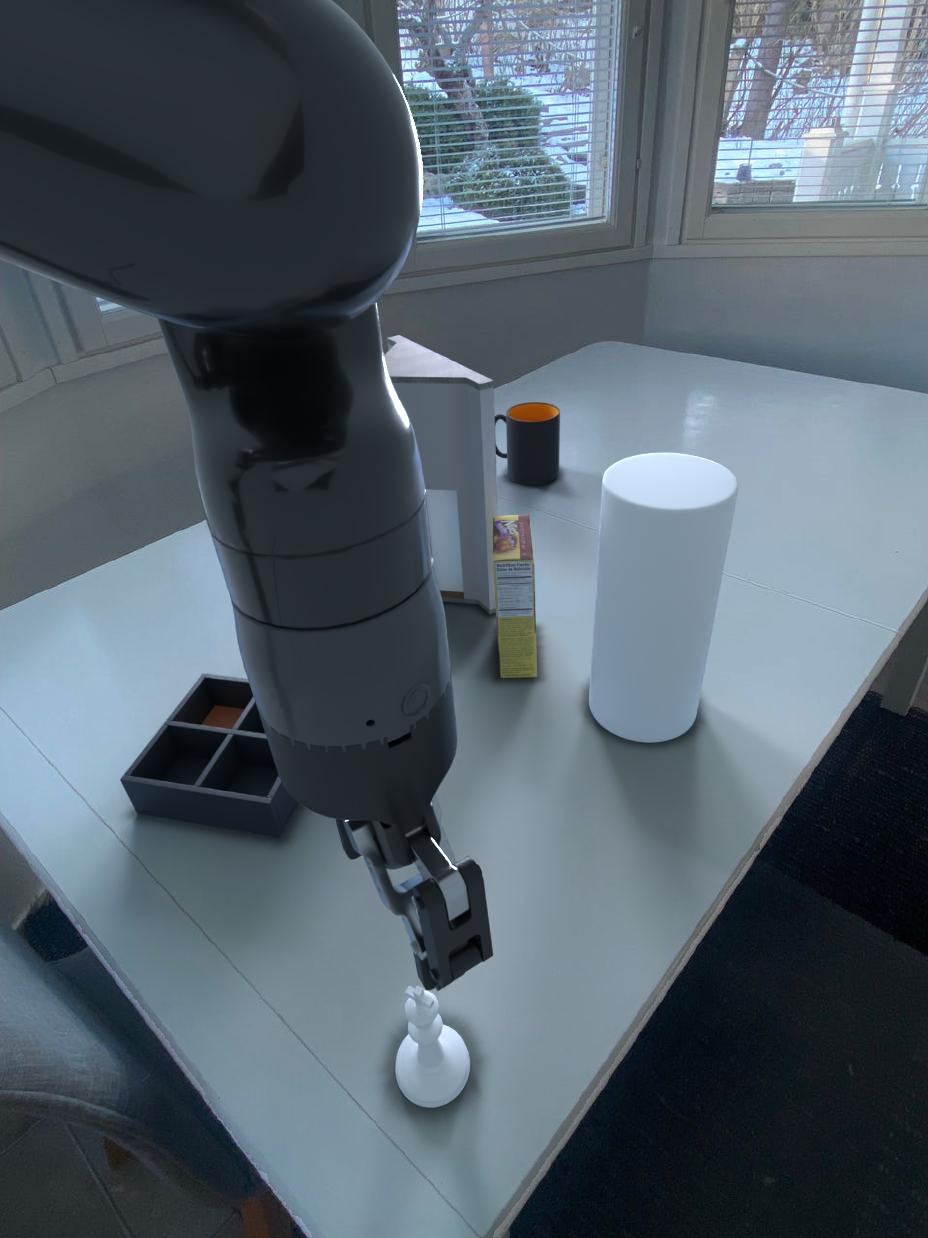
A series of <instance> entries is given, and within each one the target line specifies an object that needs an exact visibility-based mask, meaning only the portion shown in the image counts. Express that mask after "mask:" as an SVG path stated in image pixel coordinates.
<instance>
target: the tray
mask: <svg viewBox="0 0 928 1238" xmlns="http://www.w3.org/2000/svg"><path fill="white" fill-rule="evenodd" d="M119 782H120V783H121V785H122V787H123V789H124V791H125V793H126V794H127V796H128V799H129V801H130V802H131V805H132V807H133V808H134V811H135V813H136V814H139V815H145V816H151V817H155V818H156V817H157V818H163V819H168V820H173V821H179V822H184V823H185V822H186V823H191V824H197V825H203V826H208V827H214V828H220V829H227V830H231V831H238V832H242V833H243V832H244V833H249V834H250V833H251V834H255V835H260V836H261V835H262V836H266V837H272V838H273V837H274V838H278V839H281V838H282V837H283V836H284V833H285V830H286V829H287V828H288V825H289V823H290V821H291V819H292V817H293V815H294V813H295V811H296V810H297V807H298V806H299V805H300V804H299V803H298V802H297V801H296V800H295V799H294V798H293V797H292V796H291V795H290V794H289V793H288V792H287V790H286V789H285V787H284V786H283V784H282V782H281V780H280V777H279V774H278V771H277V768H276V765H275V762H274V759H273V756H272V752H271V749H270V746H269V743H268V740H267V737H266V734H265V731H264V727H263V724H262V721H261V718H260V715H259V712H258V709H257V706H256V702H255V699H254V696H253V693H252V690H251V687H250V684H249V681H248V678H244V677H236V676H229V675H221V674H212V673H204V672H203V673H202V674H201V675H200V677H198V679H197V680H196V681H195V683H194V684H193V685H192V687H191V688H190V689H189V690H188V692H187V693H186V694H185V695H184V696H183V698H182V699H181V701H180V702H179V703H178V704H177V705H176V707H175V708H174V710H173V711H172V712H171V713H170V715H169V716H168V717H167V718H166V720H165V721H164V723H163V724H162V725H161V727H160V728H159V729H158V730H157V731H156V733H155V734H154V736H152V738H151V739H150V740H149V742H148V743H147V744H146V745H145V747H144V748H143V750H141V752H140V753H139V755H138V756H137V757H136V758H135V760H134V761H133V762H132V764H131V765H130V766H129V767H128V768H127V769H126V771H125V773H124V774H123V775H122V776H121V778H120V779H119Z"/></svg>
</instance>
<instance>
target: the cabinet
mask: <svg viewBox="0 0 928 1238" xmlns="http://www.w3.org/2000/svg"><path fill="white" fill-rule="evenodd" d="M386 340H387V341H386V342H387V352H386V353H384V357H385V361H386V366H387V370H388V373H389V376H390V378H391V381H392V383H393V386H394V388H395V390H396V392H397V394H398V396H399V398H400V400H401V402H402V404H403V406H404V408H405V410H406V412H407V414H408V416H409V418H410V421H411V423H412V426H413V429H414V432H415V435H416V439H417V443H418V447H419V452H420V456H421V462H422V469H423V476H424V483H425V490H426V499H427V509H428V518H429V528H430V538H431V547H432V558H433V564H434V570H435V574H436V578H437V582H438V586H439V589H440V593H441V596H442V601H443V603H454V604H455V603H456V604H457V603H458V604H469V605H470V604H471V605H479V606H480V607H481V608H482V609H483V610H484V611H486V613H488V614H489V615H492V614H496V604H495V588H494V572H493V517H495V516H499V507H498V478H497V477H498V476H497V455H496V445H497V442H496V443H495V436H496V425H495V416H496V414H495V385H494V383H495V382H494V380H493V379H491V378H489V377H487V376H485V375H483V374H481V373H479V372H476V371H475V370H473V369H471V368H468V367H467V366H465V365H462V364H460V363H458V362H457V361H454V360H452V359H450V358H448V357H445V356H444V355H441V354H440V353H437V352H435V351H433V350H431V349H430V348H427V347H425V346H423V345H421V344H418V343H417V342H414V341H412V340H410V339H408V338H406V337H404V336H402V335H400V334H397V335H394V336H389V337H386Z"/></svg>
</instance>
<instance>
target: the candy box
mask: <svg viewBox="0 0 928 1238" xmlns="http://www.w3.org/2000/svg"><path fill="white" fill-rule="evenodd" d="M534 555H535V554H534V547H533V537H532V527H531V515H530V514H510V515H509V514H508V515H498V516H495V517H493V572H494V588H495V604H496V612H495V617H496V618H495V619H496V635H497V648H498V661H499V674H500V679H532V678H537V676H538V674H537V673H538V672H537V671H538V668H537V667H538V665H537V664H538V663H537V660H538V659H537V658H538V657H537V618H536V617H537V615H536V614H537V613H536V577H535V576H536V575H535V574H536V573H535V556H534Z"/></svg>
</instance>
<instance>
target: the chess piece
mask: <svg viewBox="0 0 928 1238" xmlns="http://www.w3.org/2000/svg"><path fill="white" fill-rule="evenodd" d="M404 993H405V996H406V997H407V1000H406V1002H405V1005H404V1013H405V1016H406V1019H407V1020H408V1023H407V1031H408V1034H407V1035H406V1036H405V1038H404V1039H403V1040H402V1042H401V1044H400V1045H399V1047H398V1050H397V1053H396V1058H395V1067H394V1068H395V1069H394V1071H395V1078H396V1083H397V1085H398V1088H399V1090H400V1091H401V1093H402V1094H403V1095H404V1097H405V1098H407V1100H409V1101H410V1102H411V1103H413V1104H414V1105H416V1106H419V1107H421V1108H428V1109H429V1108H430V1109H431V1108H439V1107H443V1106H444V1105H447V1104H449V1103H451V1102H452V1101H453V1100H455V1099H456V1098H457V1096H459V1095H460V1094H461V1093H462V1091H463V1090H464V1088H465V1086H466V1085H467V1082H468V1080H469V1076H470V1071H471V1060H470V1059H471V1058H470V1054H469V1050H468V1047H467V1046H466V1043H465V1041H464V1039H463V1038H462V1036H461V1035H460V1034H459V1033H458V1032H457V1031H456V1030H455V1029H453V1028H452V1027H450V1026H448V1025H446V1024H444V1023H443V1019H442V1017H441V1015H440V1013H439V1010H440V1009H439V1001H438V999H437V997H436V996H435V994H434V993H433V992H431V991H430V990H426V989H425V988H424V987H421V986H419V985H416V986H415V987H413V986H411V985H409V986H408V987H407V989H406V990H405V992H404Z"/></svg>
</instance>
